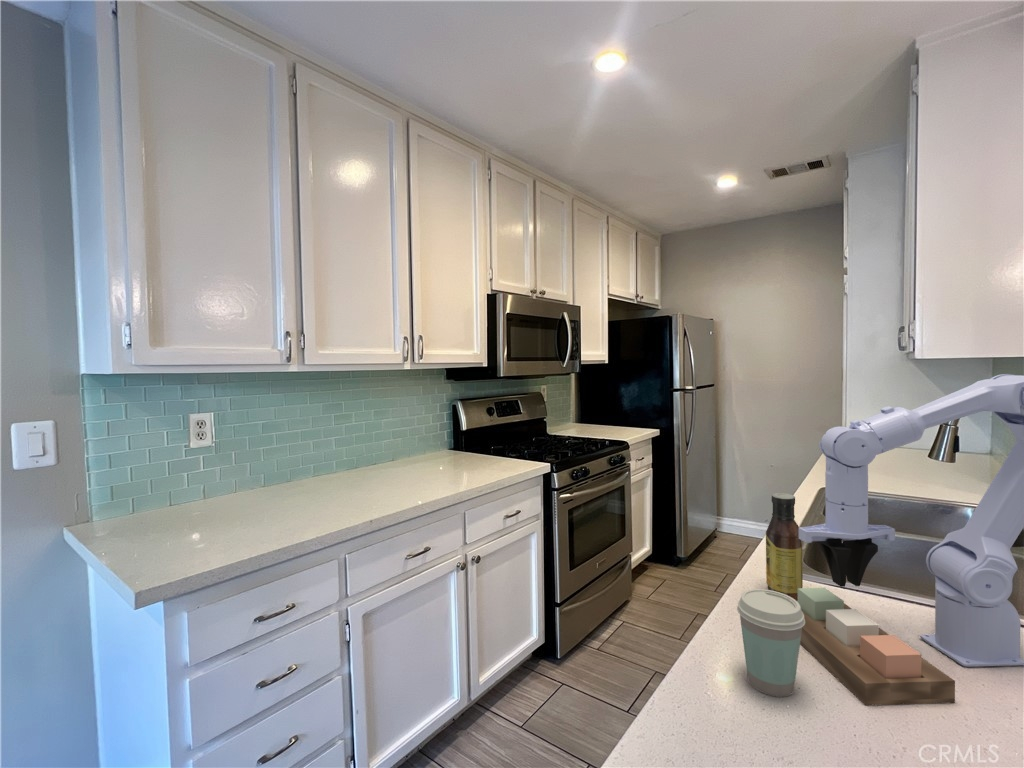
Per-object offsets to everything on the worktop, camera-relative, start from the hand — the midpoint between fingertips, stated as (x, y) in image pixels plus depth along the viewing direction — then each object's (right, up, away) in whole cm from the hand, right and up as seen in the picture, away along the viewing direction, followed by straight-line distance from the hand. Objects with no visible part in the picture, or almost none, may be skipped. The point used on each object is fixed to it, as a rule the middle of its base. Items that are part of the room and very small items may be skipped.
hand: (846, 583), depth 79 cm
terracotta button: (-2, -8, -11) cm, 14 cm away
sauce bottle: (-1, -9, +16) cm, 19 cm away
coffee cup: (-18, -10, -10) cm, 23 cm away
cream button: (-2, -8, -4) cm, 9 cm away
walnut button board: (-2, -10, -4) cm, 10 cm away
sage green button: (-2, -7, +4) cm, 8 cm away
